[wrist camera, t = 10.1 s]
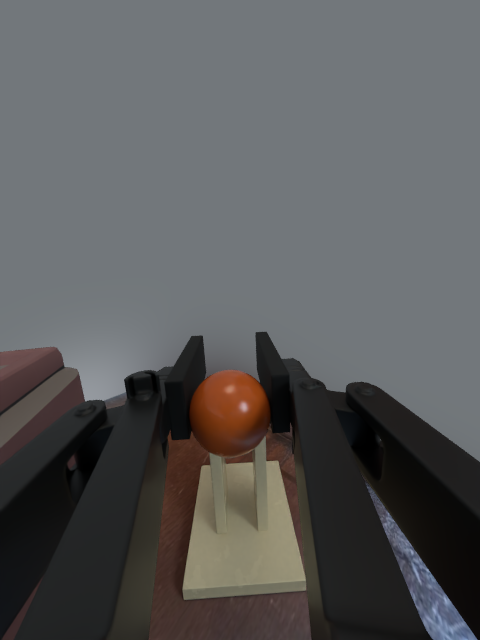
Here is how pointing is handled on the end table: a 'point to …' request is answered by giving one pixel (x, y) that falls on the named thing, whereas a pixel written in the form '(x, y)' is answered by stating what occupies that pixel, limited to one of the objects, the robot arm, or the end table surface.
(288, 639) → the end table surface
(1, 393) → the toaster
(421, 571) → the end table surface
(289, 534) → the bracket
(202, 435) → the lever
